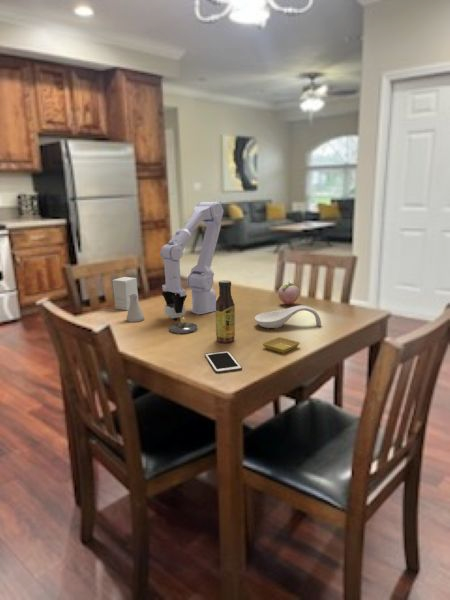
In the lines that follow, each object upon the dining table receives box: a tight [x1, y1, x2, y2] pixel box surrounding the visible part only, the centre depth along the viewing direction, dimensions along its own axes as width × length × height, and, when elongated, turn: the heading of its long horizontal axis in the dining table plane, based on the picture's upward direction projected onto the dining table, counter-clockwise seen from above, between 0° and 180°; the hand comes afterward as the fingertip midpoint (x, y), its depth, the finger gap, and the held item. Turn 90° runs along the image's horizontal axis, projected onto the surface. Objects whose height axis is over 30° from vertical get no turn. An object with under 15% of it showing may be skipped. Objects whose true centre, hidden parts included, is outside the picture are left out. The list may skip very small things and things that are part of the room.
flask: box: [125, 293, 145, 323], centre depth 175 cm, size 7×7×10 cm
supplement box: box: [112, 276, 140, 311], centre depth 193 cm, size 7×7×13 cm
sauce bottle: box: [215, 279, 236, 344], centre depth 148 cm, size 7×6×20 cm
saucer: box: [262, 336, 301, 354], centre depth 142 cm, size 9×9×2 cm
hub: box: [168, 316, 198, 335], centre depth 162 cm, size 10×10×4 cm
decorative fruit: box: [277, 282, 300, 306], centre depth 190 cm, size 9×8×10 cm
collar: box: [164, 303, 186, 319], centre depth 174 cm, size 6×6×4 cm
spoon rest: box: [254, 305, 322, 329], centre depth 163 cm, size 24×12×7 cm, turn 91°
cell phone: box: [204, 350, 243, 374], centre depth 132 cm, size 8×15×1 cm, turn 15°
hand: (174, 311), depth 175 cm, fingers closed on collar, 6 cm apart
